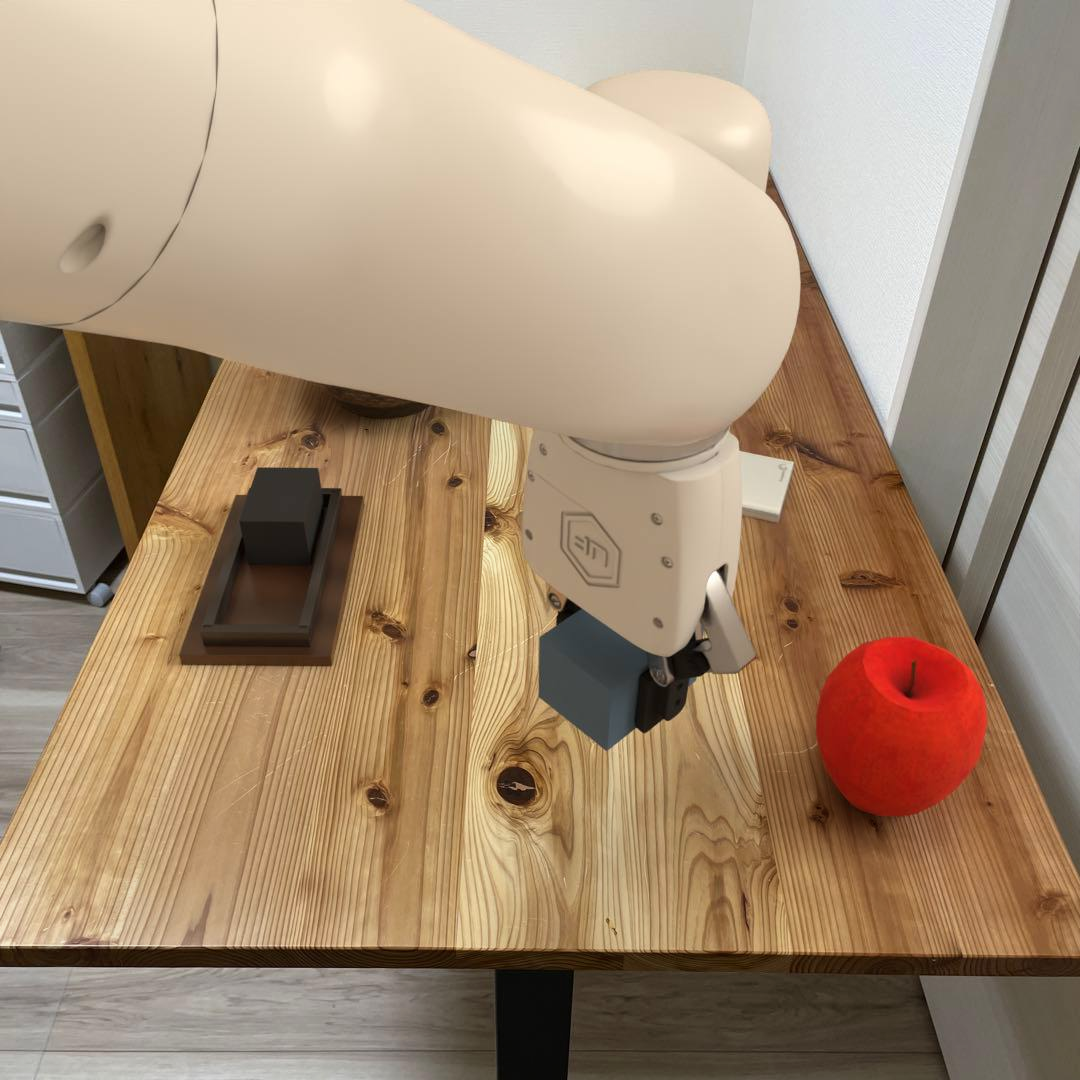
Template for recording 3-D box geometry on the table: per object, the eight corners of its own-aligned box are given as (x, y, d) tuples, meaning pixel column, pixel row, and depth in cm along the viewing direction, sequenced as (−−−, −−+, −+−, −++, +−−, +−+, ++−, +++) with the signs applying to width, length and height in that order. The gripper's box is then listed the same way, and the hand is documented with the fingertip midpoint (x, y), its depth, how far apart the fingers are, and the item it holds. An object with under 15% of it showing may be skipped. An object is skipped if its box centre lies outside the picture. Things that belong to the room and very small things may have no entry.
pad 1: (311, 565, 85) (304, 521, 82) (248, 564, 85) (238, 520, 82) (325, 510, 90) (318, 467, 87) (265, 509, 90) (257, 467, 87)
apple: (928, 728, 74) (976, 601, 66) (977, 852, 67) (1038, 725, 59) (785, 731, 74) (817, 603, 66) (819, 856, 66) (859, 728, 58)
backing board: (332, 665, 78) (328, 641, 76) (181, 664, 78) (174, 640, 76) (364, 504, 93) (361, 481, 91) (237, 503, 92) (232, 480, 91)
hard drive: (795, 460, 97) (662, 432, 100) (780, 513, 91) (638, 482, 94) (792, 474, 98) (660, 446, 101) (777, 528, 92) (637, 497, 95)
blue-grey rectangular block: (627, 632, 60) (633, 572, 57) (696, 680, 57) (705, 620, 54) (537, 697, 56) (538, 636, 53) (606, 752, 54) (611, 691, 51)
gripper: (444, 348, 48) (459, 636, 59) (750, 525, 38) (696, 826, 50) (564, 294, 52) (555, 575, 63) (867, 443, 42) (792, 740, 54)
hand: (618, 683), depth 56 cm, fingers closed on blue-grey rectangular block, 5 cm apart
